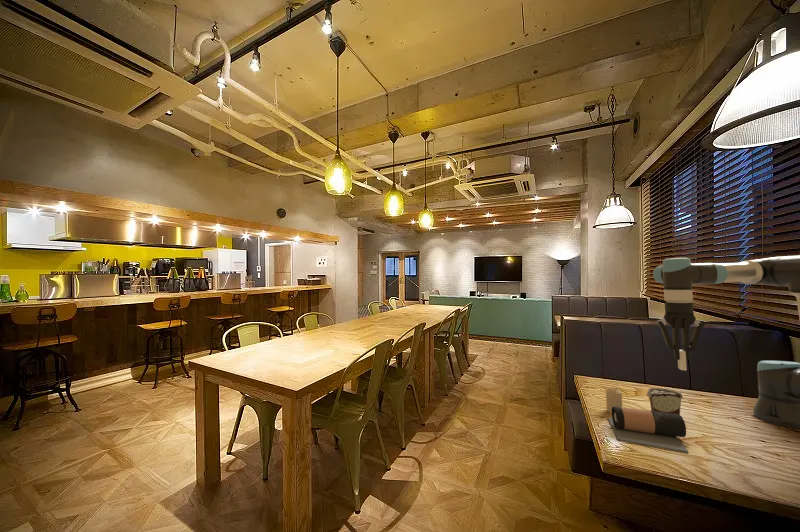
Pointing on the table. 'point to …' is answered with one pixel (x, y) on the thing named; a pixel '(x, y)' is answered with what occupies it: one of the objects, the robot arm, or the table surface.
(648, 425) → the travel mug
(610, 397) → the candle
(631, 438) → the mat
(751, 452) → the table surface
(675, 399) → the food container
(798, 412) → the robot arm
